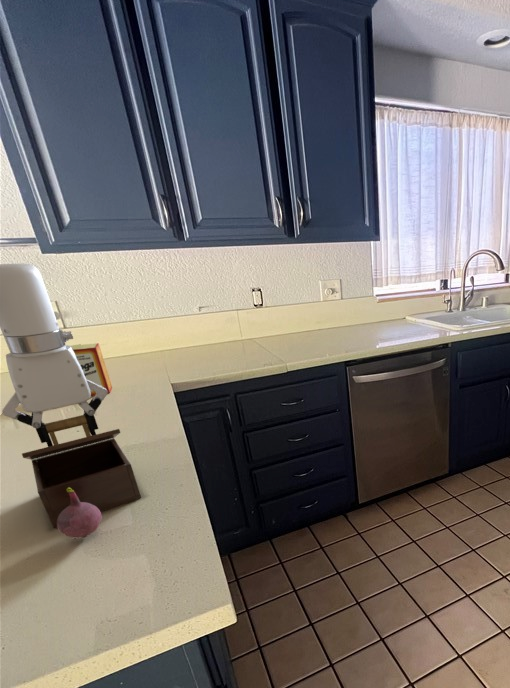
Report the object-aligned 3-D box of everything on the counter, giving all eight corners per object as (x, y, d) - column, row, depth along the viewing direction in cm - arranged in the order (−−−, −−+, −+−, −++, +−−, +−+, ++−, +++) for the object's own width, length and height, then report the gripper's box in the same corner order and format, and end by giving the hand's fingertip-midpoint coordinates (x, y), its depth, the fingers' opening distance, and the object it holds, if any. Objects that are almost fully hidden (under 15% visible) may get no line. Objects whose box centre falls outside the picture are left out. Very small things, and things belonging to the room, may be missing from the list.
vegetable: (115, 528, 77) (98, 480, 73) (88, 550, 72) (68, 501, 67) (86, 524, 78) (67, 478, 74) (57, 547, 73) (35, 498, 68)
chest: (141, 497, 86) (130, 464, 82) (53, 528, 77) (37, 492, 74) (124, 468, 97) (114, 438, 93) (45, 492, 88) (31, 459, 85)
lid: (120, 432, 80) (111, 407, 79) (23, 458, 71) (12, 429, 71) (114, 437, 93) (106, 416, 93) (31, 459, 85) (21, 435, 84)
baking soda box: (112, 387, 149) (98, 342, 142) (109, 393, 144) (95, 346, 137) (80, 391, 146) (64, 345, 139) (77, 397, 140) (60, 349, 133)
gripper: (92, 331, 79) (119, 420, 87) (-32, 348, 69) (12, 447, 77) (99, 338, 74) (128, 431, 82) (-33, 356, 64) (14, 462, 71)
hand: (71, 438), depth 79 cm, fingers closed on lid, 6 cm apart
